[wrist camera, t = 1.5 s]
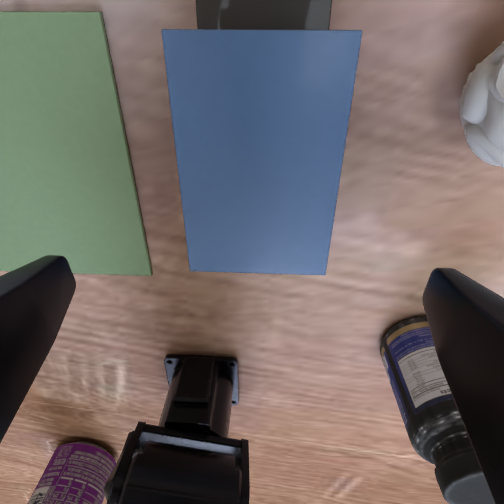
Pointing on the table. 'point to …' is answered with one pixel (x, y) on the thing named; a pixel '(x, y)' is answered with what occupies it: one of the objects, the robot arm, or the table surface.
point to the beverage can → (75, 475)
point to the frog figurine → (485, 108)
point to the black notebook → (263, 14)
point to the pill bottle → (432, 412)
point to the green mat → (64, 148)
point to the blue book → (260, 143)
